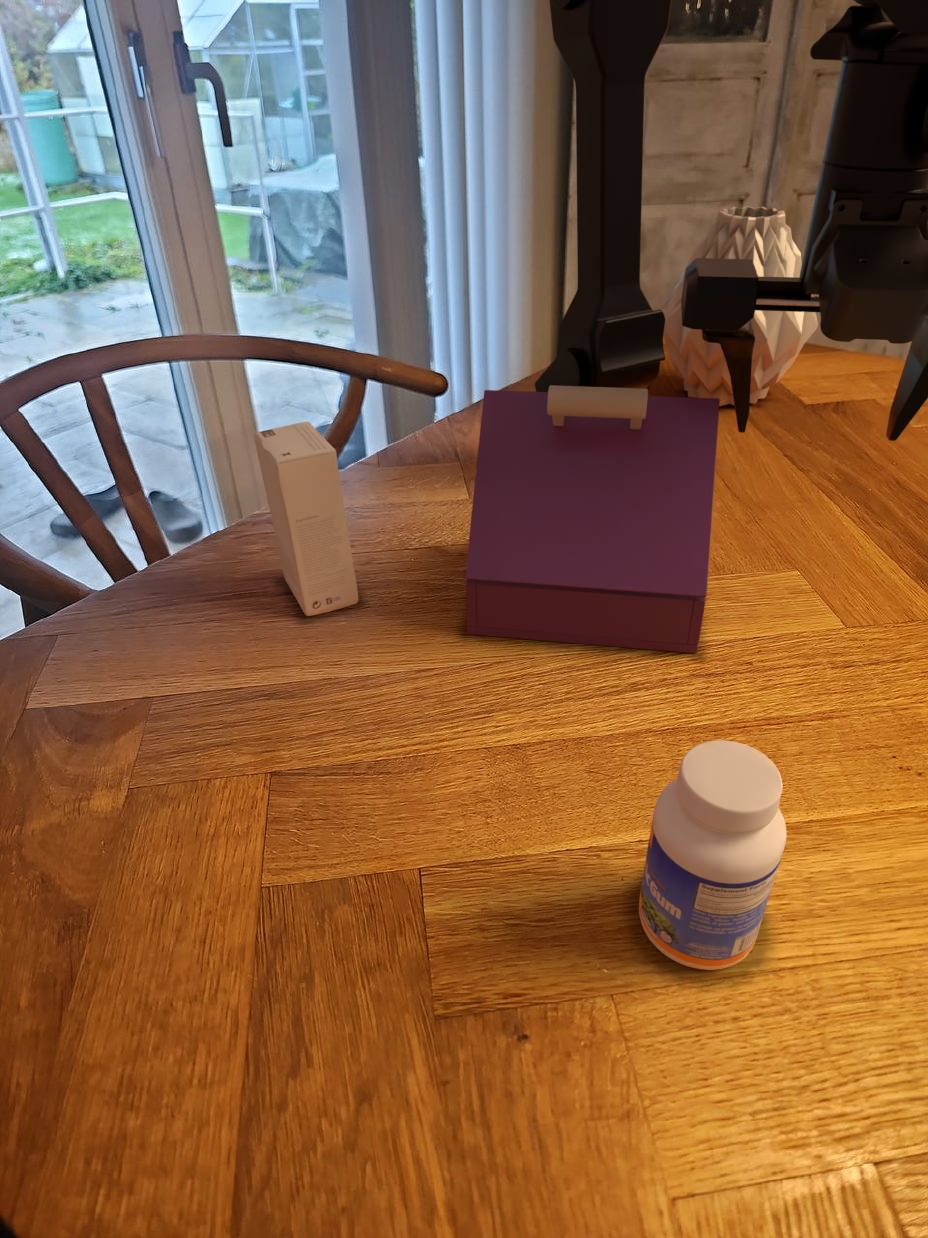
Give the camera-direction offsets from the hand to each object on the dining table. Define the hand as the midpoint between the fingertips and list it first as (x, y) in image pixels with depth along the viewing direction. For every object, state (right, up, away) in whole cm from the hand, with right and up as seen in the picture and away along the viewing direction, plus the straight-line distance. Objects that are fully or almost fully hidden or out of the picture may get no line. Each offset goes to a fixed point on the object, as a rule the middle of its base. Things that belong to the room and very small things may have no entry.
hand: (814, 434), depth 55 cm
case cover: (-14, -4, +1) cm, 15 cm away
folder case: (-14, -10, +7) cm, 19 cm away
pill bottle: (-12, -26, -15) cm, 33 cm away
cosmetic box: (-34, -10, +9) cm, 36 cm away
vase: (+6, +13, +39) cm, 42 cm away
